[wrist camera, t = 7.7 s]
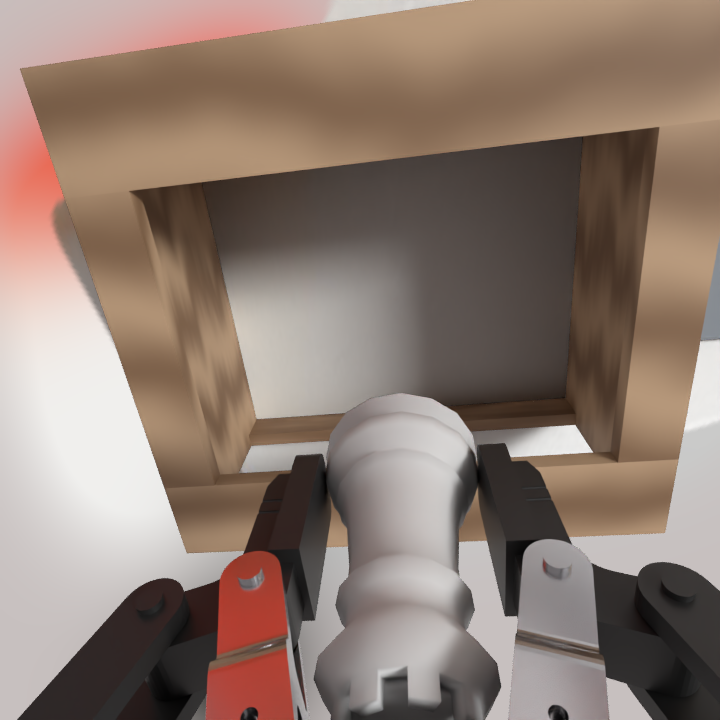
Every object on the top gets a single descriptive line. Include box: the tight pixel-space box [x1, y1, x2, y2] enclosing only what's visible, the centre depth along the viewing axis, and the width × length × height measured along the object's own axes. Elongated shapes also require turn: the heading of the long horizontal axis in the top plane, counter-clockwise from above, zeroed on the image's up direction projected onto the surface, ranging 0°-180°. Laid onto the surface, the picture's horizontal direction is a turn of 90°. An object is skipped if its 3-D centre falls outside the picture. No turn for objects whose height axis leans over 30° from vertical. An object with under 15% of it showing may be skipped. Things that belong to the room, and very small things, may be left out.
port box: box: [20, 0, 720, 553], centre depth 30 cm, size 26×28×14 cm
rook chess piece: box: [314, 393, 501, 720], centre depth 11 cm, size 4×4×8 cm
